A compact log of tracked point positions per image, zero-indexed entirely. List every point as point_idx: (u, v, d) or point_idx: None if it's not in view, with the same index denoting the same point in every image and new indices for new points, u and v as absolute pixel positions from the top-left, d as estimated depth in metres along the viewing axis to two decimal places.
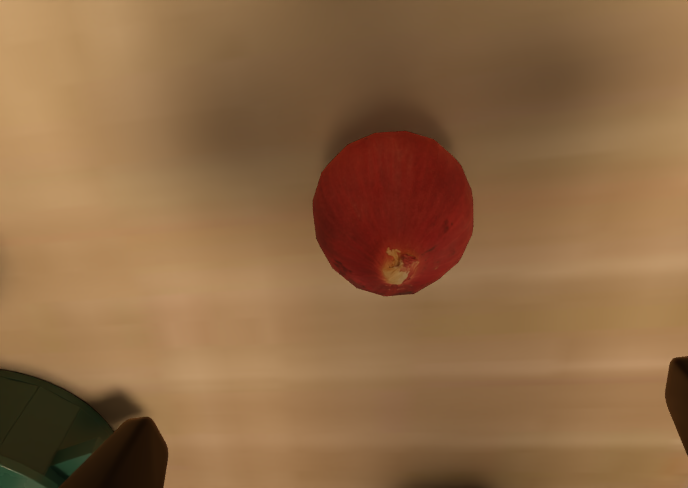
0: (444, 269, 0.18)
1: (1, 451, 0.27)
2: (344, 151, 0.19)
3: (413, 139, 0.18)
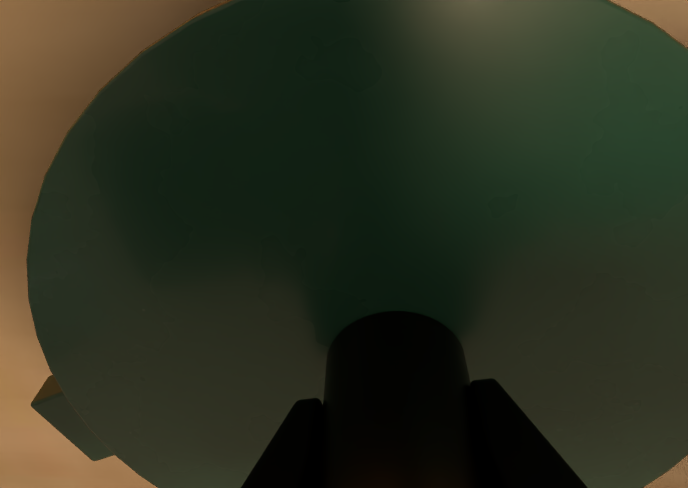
0: None
1: None
2: None
3: None
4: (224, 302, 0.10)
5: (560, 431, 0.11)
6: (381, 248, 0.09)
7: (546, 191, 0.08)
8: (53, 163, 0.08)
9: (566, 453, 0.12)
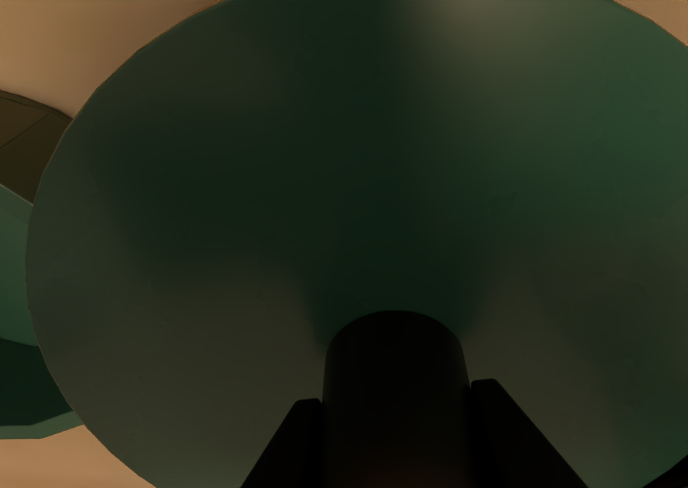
0: None
1: None
2: None
3: None
4: (222, 301, 0.10)
5: (559, 431, 0.11)
6: (380, 247, 0.09)
7: (545, 190, 0.08)
8: (50, 162, 0.08)
9: (565, 452, 0.12)
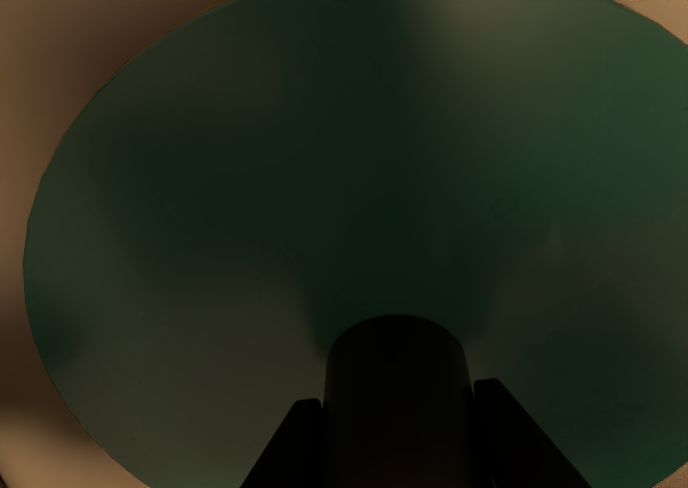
0: None
1: None
2: None
3: None
4: (223, 305, 0.10)
5: (562, 436, 0.11)
6: (381, 251, 0.09)
7: (549, 193, 0.08)
8: (49, 165, 0.08)
9: (568, 457, 0.12)
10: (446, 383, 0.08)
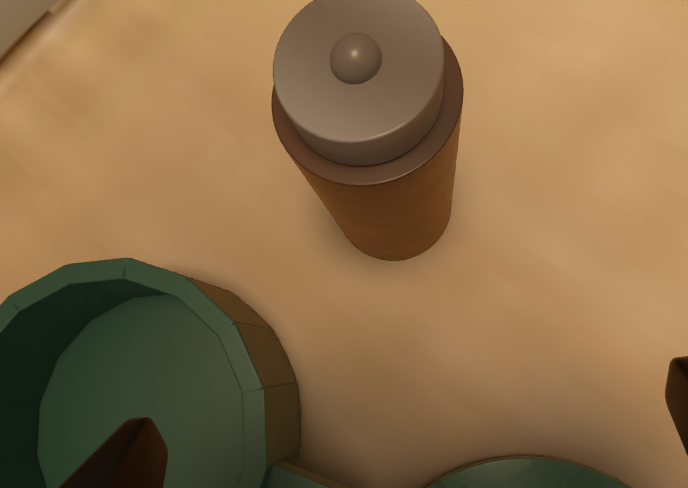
0: None
1: (267, 393, 0.19)
2: None
3: None
4: None
5: None
6: None
7: None
8: (501, 460, 0.20)
9: None
10: None
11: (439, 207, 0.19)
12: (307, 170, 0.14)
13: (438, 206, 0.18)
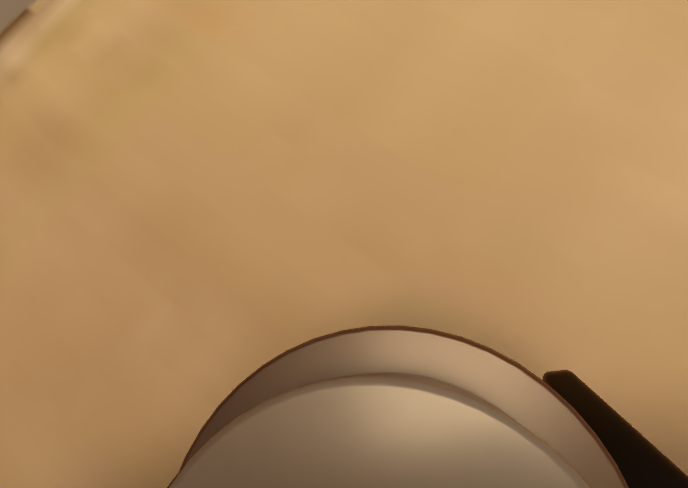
0: None
1: None
2: None
3: None
4: None
5: None
6: None
7: None
8: None
9: None
10: None
11: None
12: None
13: None
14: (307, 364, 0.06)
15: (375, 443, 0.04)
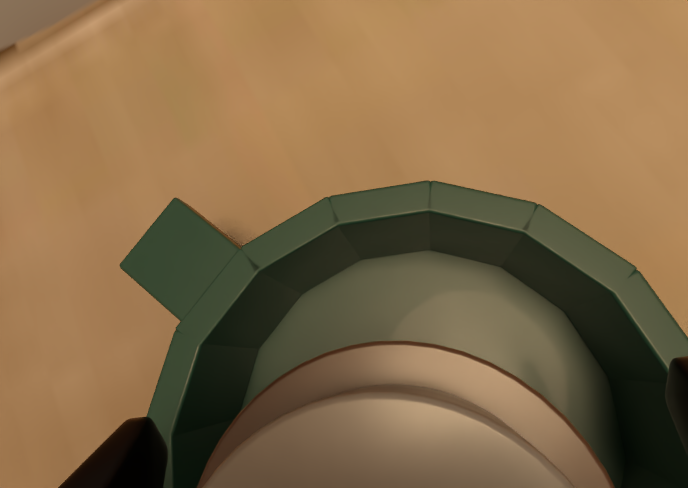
0: None
1: None
2: None
3: None
4: None
5: None
6: None
7: None
8: None
9: None
10: None
11: None
12: None
13: None
14: (320, 376, 0.06)
15: (387, 451, 0.05)
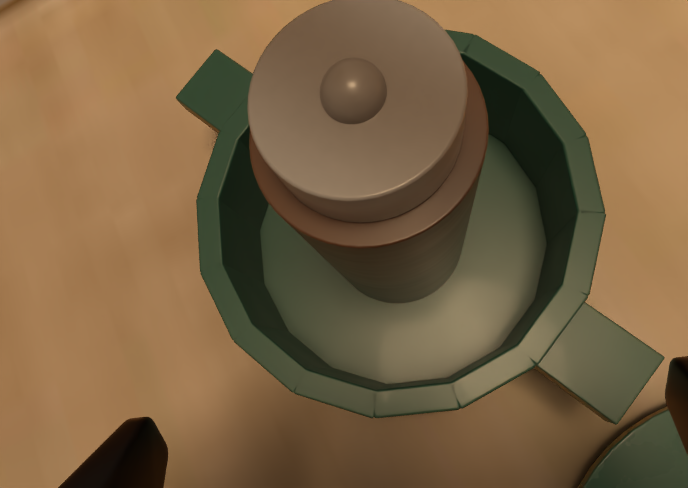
0: None
1: None
2: None
3: None
4: None
5: None
6: None
7: None
8: None
9: None
10: None
11: (452, 254, 0.16)
12: (293, 226, 0.11)
13: (451, 253, 0.16)
14: None
15: (355, 18, 0.10)
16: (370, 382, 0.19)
